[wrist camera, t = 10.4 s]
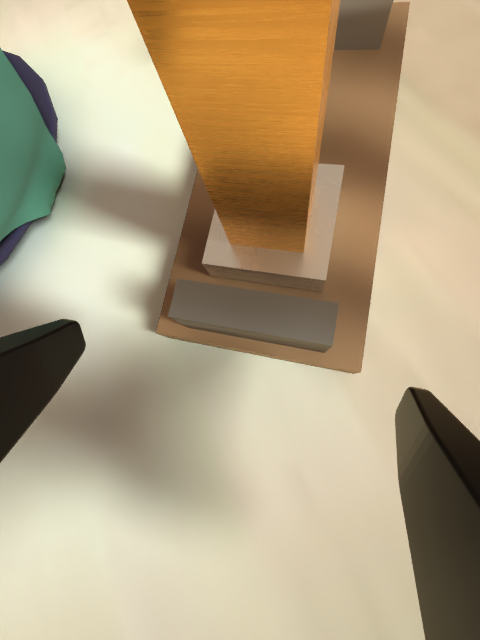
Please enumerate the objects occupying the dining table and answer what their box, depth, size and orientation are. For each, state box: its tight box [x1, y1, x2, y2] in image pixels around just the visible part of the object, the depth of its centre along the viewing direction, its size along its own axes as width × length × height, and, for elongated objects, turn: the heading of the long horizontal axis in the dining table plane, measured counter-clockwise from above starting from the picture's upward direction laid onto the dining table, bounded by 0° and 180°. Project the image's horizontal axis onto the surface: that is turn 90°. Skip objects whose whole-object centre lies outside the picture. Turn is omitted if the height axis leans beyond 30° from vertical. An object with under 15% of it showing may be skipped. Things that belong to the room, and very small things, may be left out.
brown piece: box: [156, 0, 410, 374], centre depth 13 cm, size 19×9×6 cm, turn 169°
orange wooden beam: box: [127, 0, 344, 292], centre depth 9 cm, size 11×5×11 cm, turn 169°
